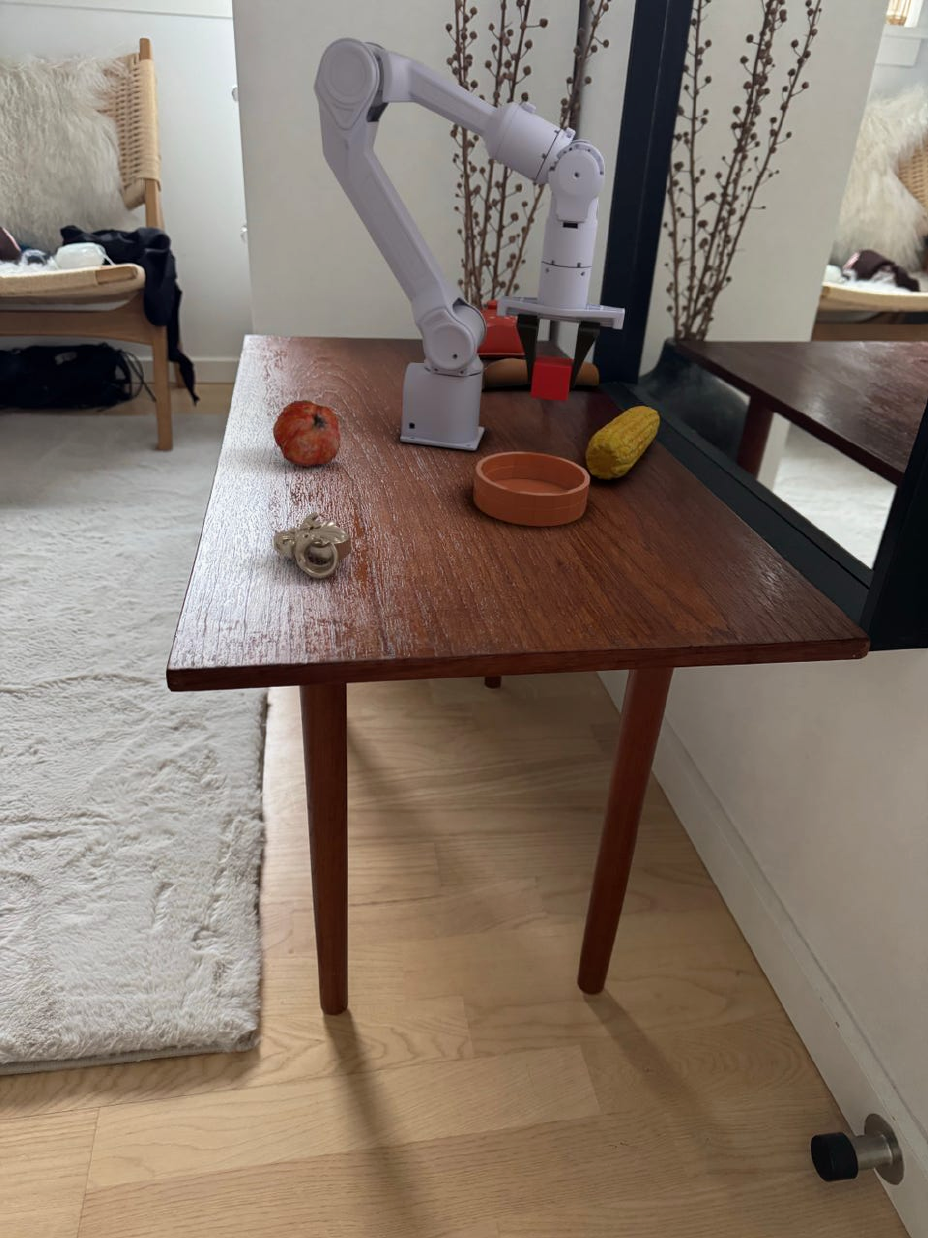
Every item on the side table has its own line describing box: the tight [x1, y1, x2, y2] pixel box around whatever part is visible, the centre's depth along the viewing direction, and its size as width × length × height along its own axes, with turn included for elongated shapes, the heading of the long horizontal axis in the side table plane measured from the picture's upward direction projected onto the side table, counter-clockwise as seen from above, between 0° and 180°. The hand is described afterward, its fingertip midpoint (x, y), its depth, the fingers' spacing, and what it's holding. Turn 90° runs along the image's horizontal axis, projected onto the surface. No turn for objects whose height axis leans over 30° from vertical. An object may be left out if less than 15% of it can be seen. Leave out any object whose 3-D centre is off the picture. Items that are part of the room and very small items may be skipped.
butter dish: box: [477, 299, 525, 359], centre depth 147 cm, size 12×12×8 cm
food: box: [584, 405, 661, 481], centre depth 109 cm, size 21×6×6 cm, turn 157°
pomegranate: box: [272, 399, 341, 468], centre depth 100 cm, size 7×7×10 cm
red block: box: [529, 354, 574, 403], centre depth 106 cm, size 4×4×4 cm
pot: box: [472, 451, 591, 527], centre depth 95 cm, size 12×12×4 cm
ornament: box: [272, 511, 351, 579], centre depth 80 cm, size 8×7×4 cm
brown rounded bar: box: [482, 358, 600, 390], centre depth 134 cm, size 18×7×7 cm
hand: (551, 382), depth 107 cm, fingers closed on red block, 4 cm apart
